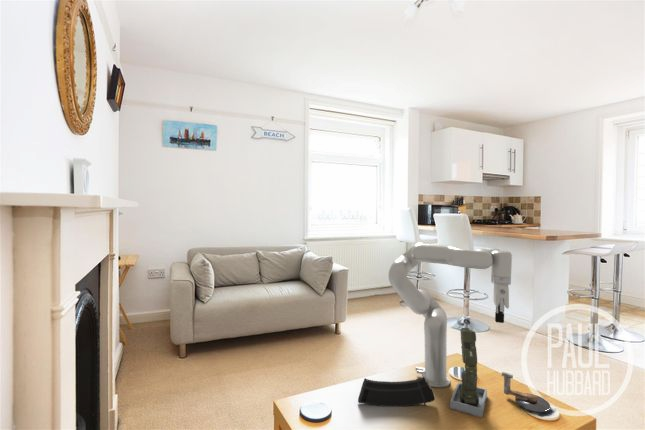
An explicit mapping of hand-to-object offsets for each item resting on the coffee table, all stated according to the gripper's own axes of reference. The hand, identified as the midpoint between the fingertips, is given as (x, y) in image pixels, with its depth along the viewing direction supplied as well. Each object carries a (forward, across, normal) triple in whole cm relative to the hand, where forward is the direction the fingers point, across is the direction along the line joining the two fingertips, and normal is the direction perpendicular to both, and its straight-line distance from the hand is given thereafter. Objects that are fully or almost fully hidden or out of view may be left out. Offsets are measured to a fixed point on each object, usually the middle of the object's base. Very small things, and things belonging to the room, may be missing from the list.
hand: (499, 321), depth 150 cm
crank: (+28, -6, -7) cm, 30 cm away
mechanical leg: (+30, -13, +12) cm, 35 cm away
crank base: (+30, -7, -12) cm, 33 cm away
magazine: (+32, -24, +40) cm, 56 cm away
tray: (+30, -14, +12) cm, 35 cm away
